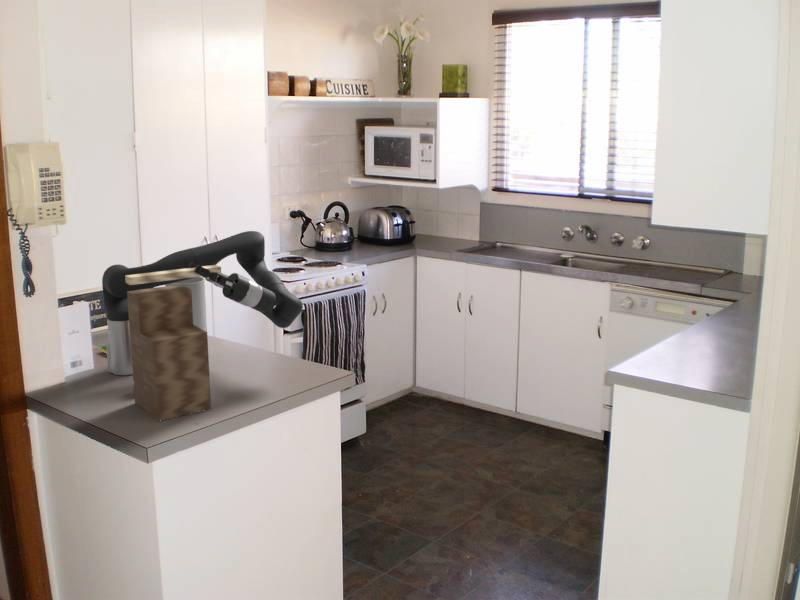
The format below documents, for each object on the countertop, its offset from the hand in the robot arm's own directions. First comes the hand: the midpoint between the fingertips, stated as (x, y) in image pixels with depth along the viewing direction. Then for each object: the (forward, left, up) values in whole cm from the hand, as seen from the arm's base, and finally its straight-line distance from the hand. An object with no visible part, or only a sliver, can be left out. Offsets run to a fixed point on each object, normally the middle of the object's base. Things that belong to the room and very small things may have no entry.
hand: (193, 267), depth 237 cm
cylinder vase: (-21, +36, -37) cm, 56 cm away
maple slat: (-4, -4, -2) cm, 6 cm away
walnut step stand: (-3, -11, -37) cm, 39 cm away
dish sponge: (-43, +34, -38) cm, 67 cm away
